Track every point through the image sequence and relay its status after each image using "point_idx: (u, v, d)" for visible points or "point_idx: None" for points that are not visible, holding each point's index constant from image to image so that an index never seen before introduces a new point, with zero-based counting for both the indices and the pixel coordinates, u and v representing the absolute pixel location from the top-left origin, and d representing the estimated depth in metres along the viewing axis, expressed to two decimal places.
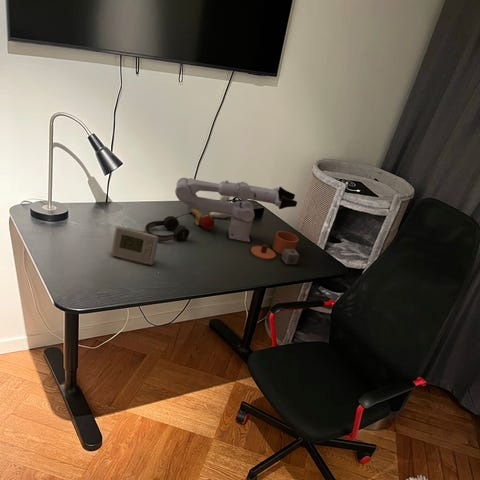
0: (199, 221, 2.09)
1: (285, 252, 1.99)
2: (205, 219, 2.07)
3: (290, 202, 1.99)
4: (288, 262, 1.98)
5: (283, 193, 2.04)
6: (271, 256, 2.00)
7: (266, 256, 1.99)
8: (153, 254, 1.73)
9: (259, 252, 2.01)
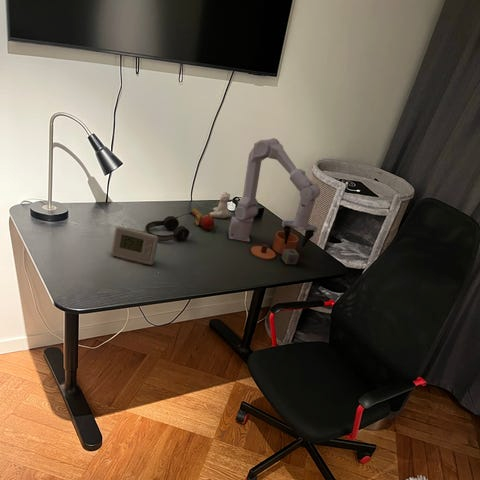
0: (199, 221, 2.09)
1: (285, 252, 1.99)
2: (205, 219, 2.07)
3: (286, 237, 1.94)
4: (288, 262, 1.98)
5: (306, 236, 1.94)
6: (271, 256, 2.00)
7: (266, 256, 1.99)
8: (153, 254, 1.73)
9: (259, 252, 2.01)
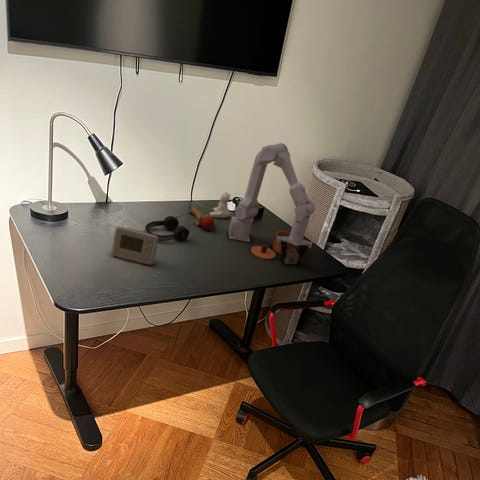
0: (199, 221, 2.09)
1: (285, 252, 1.99)
2: (205, 219, 2.07)
3: None
4: (288, 262, 1.98)
5: (300, 251, 1.98)
6: (271, 256, 2.00)
7: (266, 256, 1.99)
8: (153, 254, 1.73)
9: (259, 252, 2.01)
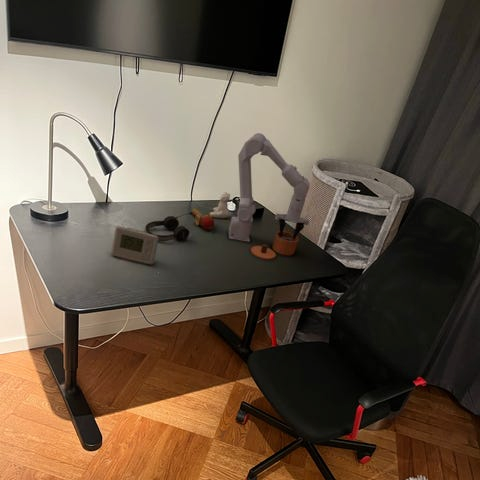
0: (199, 221, 2.09)
1: None
2: (205, 219, 2.07)
3: (281, 230, 2.04)
4: None
5: (296, 228, 2.03)
6: (271, 256, 2.00)
7: (266, 256, 1.99)
8: (153, 254, 1.73)
9: (259, 252, 2.01)
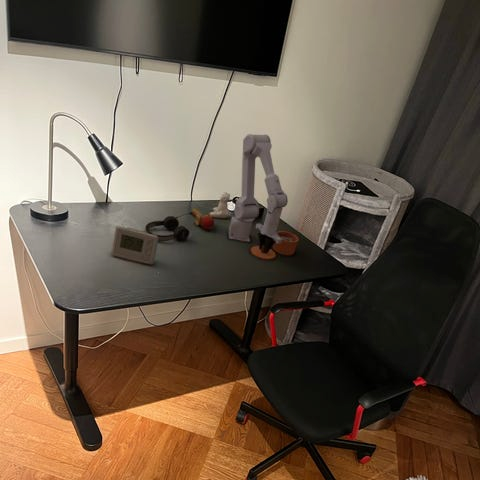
0: (199, 221, 2.09)
1: None
2: (205, 219, 2.07)
3: None
4: None
5: None
6: (271, 256, 2.00)
7: (266, 256, 1.99)
8: (153, 254, 1.73)
9: (259, 252, 2.01)
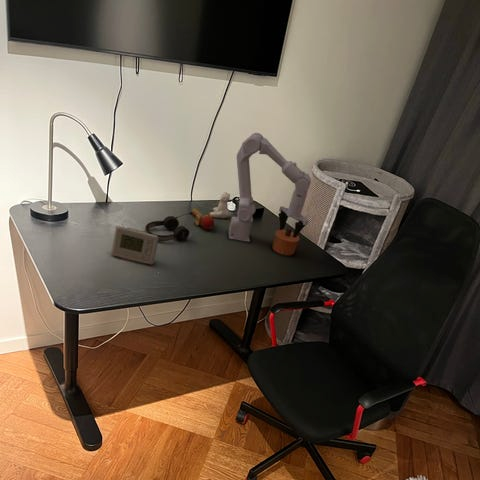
0: (199, 221, 2.09)
1: None
2: (205, 219, 2.07)
3: None
4: None
5: None
6: (296, 239, 2.04)
7: (292, 239, 2.03)
8: (153, 254, 1.73)
9: (284, 236, 2.04)
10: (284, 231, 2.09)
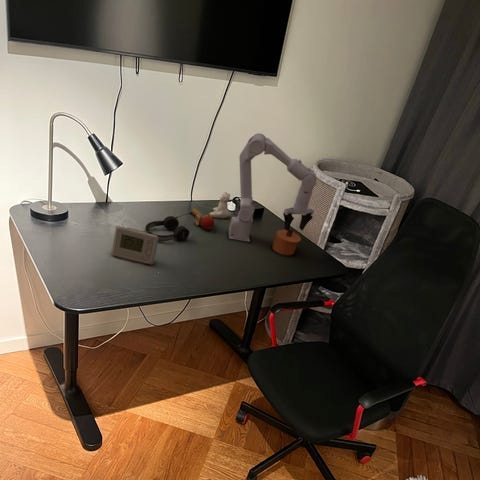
0: (199, 221, 2.09)
1: None
2: (205, 219, 2.07)
3: (287, 224, 2.02)
4: None
5: (305, 219, 2.05)
6: (297, 239, 2.04)
7: (294, 240, 2.03)
8: (153, 254, 1.73)
9: (285, 236, 2.04)
10: (285, 231, 2.08)
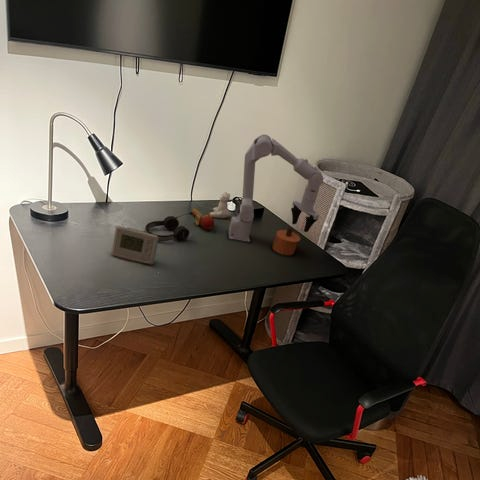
0: (199, 221, 2.09)
1: None
2: (205, 219, 2.07)
3: (309, 226, 2.05)
4: None
5: (298, 213, 2.08)
6: (295, 240, 2.03)
7: (290, 239, 2.03)
8: (153, 254, 1.73)
9: (284, 235, 2.05)
10: None
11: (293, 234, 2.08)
